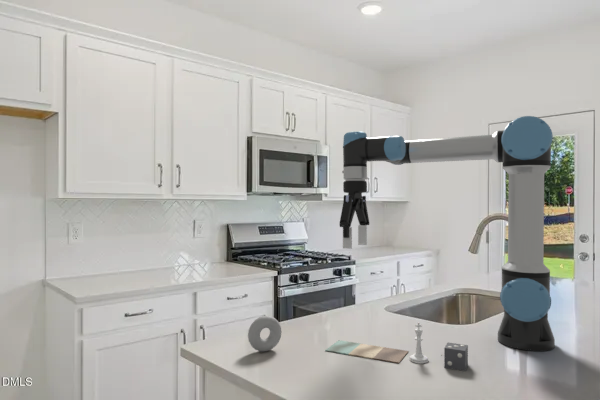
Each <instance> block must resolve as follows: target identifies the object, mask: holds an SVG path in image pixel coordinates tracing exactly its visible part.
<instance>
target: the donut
mask: <svg viewBox="0 0 600 400" xmlns="http://www.w3.org/2000/svg"><path fill="white" fill-rule="evenodd" d="M264 329H268V330H269V335H268V336H267V337H266V338H262V337H261V332H262V331H263V330H264ZM281 337H282V326H281V324H280V322H279V321H278V319H276V318H275V317H273V316H271V315H262V316H259V317H257V318H256V319H254V320H253V322H252V323H251V325H250V327H249V328H248V333H247V338H248V342H249V345H250V346H251V347H252V348H253V349H254V350H255V351H258V352H264V353H265V352H268V351H271V350H272V349H274V348H275V347H276V346H277V345H278V344H279V342H280V340H281Z"/></svg>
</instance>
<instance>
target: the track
mask: <svg viewBox="0 0 600 400" xmlns="http://www.w3.org/2000/svg"><path fill="white" fill-rule="evenodd" d="M325 352H329V353H335V354H342V355H347V356H352V357H357V358H358V357H360V358H364V359H369V360H377V361H381V362H388V363H394V364H400V363H401V362H402V361H403V359H404V358H405V357H406V355H408V353H409V350H406V349H405V350H404V349H398V348H391V347H387V346H386V347H385V346H380V345H371V344H366V343H359V342H353V341H347V340H340V339H339V340H337V341H336V342H334V343H332V345H330V346H329V347H327V348H326V349H325Z"/></svg>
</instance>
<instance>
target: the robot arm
mask: <svg viewBox="0 0 600 400" xmlns="http://www.w3.org/2000/svg"><path fill="white" fill-rule="evenodd" d="M342 142H343V143H342V144H343V145H342V151H343V154H342V155H343V156H342V157H343V158H342V159H343V164H342V165H343V170H342V172H341V173H342V174H343V180H344V181H343V183H342V185H343V187H342V188H343V193H344V195H343V201H342V208H341V214H340V218H339V220H340V221H339V228H342V249H346V250H347V249H350V250H351V249H353V240H352V239H353V227H352V223H353V219H354V215H355V214H356V218H357V220H358V225H357V226H358V227H357V228H358V229H357V233H358V234H357V237H358V238H357V239H358V240H357V242H358V245H362V246H367V243H368V241H367V240H368V239H367V237H368V236H367V235H368V234H367V232H368V230H367V229H368V226H369V225H370V217H369V212H368V207H367V198H366V197H367V196H366V195H362V194H364V193H367V192H368V184H367V181H366V180H368V165H367V163H368V162H387V163H390V164H392V165H398V166H399V165H403V164H416V163H417V164H418V163H439V162H440V163H442V162H443V163H444V162H459V161H460V162H462V161H463V162H465V161H485V160H487V161H488V160H489V161H490V160H494V161H495V162H496V163H502V169H503V171H504V172H506V173H507V174H508V193H507V194H508V195H507V196H508V209H507V213H508V215H507V217H508V218H507V219H508V220H507V222H508V223H507V224H508V225H507V226H508V227H507V261H506V263H504V264H503V265H502V266H501V291H500V293H499V300H500V303H501V307H502V308H503V316H502V319H501V321H500V326H499V328H498V330H497V341H498V342H499V343H500V344H502V345H504V346H507V347H510V348H514V349H519V350H523V351H531V352H532V351H534V352H547V351H551V350H553V349H554V348H555V345H556V343H555V342H556V341H555V336H554V333H553V331H552V328H551V325H550V323H549V322H550V321H549V319H548V317H549V315H548V314H549V310H550V309H551V307H552V297H551V295H550V294H551V293H550V291H551V284H550V283H551V270H550V269H549V268H548V267H547V266H546V265H545V262H544V256H545V255H544V254H545V253H544V250H545V249H544V245H545V243H544V241H545V240H544V239H545V238H544V237H545V236H544V235H545V234H544V233H545V232H544V231H545V225H544V224H545V222H544V221H545V218H544V217H545V213H544V212H545V174H546V173H547V171H548V170H549V169H551V168H552V164H551V163H552V143H553V131H552V129H551V126H549V124H548V123H547V122H546V121H545V120H544V119H542V118H540V117H537V116H532V115H524V116H520V117H517V118H514V119H513V120H512V121H510V122H509V123H507V125H506V126H505V128H504V129H503V130H496V131H495V132H494V133H493V134H486V135H485V134H484V135H483V134H482V135H469V136H454V137H442V138H441V137H440V138H427V139H425V138H424V139H413V140H405V139H404V137H403V136H402V135H388V136H376V137H368V135H367V133H366V132H365V131H348V132H346V133H345V134H343V141H342ZM346 193H347V194H346ZM345 194H346V195H345Z"/></svg>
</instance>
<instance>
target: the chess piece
mask: <svg viewBox="0 0 600 400" xmlns="http://www.w3.org/2000/svg"><path fill="white" fill-rule="evenodd" d="M416 327H417V328H416ZM422 327H423V324H420V322H417V324H415V329H414V331H415V337H414V340H415V341H416V347H415V352H414V353H413V354H411V355H409V359H408V360H409V361H410V362H412V363H415V364H427V363H429V357H428V356H427V355H424V353H423V352H422V351H423V350H422V343H421V341H423V340H424V339H423V337H422V334H423V329H421V328H422Z"/></svg>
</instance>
